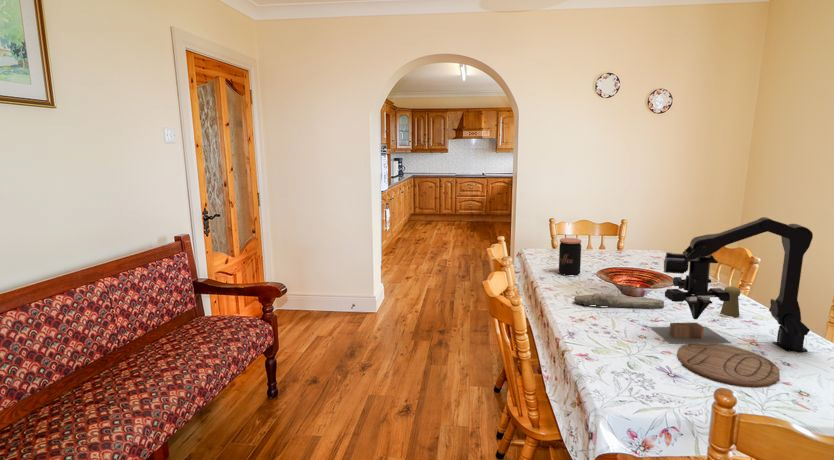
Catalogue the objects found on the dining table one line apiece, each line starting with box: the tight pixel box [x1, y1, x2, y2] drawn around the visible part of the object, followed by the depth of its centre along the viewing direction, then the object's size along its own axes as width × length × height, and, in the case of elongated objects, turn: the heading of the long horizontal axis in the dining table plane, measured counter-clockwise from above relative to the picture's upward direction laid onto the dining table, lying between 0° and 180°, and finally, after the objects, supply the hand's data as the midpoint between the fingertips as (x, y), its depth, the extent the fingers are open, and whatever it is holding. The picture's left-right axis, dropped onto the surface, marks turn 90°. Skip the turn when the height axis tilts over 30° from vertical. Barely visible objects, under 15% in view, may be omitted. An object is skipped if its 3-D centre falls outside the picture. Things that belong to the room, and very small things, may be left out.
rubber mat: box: [649, 326, 732, 345], centre depth 153 cm, size 14×20×1 cm
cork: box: [720, 286, 742, 318], centre depth 169 cm, size 6×6×11 cm
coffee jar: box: [558, 237, 582, 276], centre depth 230 cm, size 11×11×18 cm
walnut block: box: [669, 322, 704, 339], centre depth 151 cm, size 4×4×9 cm
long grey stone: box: [573, 293, 665, 309], centre depth 184 cm, size 35×5×10 cm
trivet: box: [676, 342, 780, 388], centre depth 132 cm, size 25×25×2 cm
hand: (695, 319), depth 151 cm, fingers closed
